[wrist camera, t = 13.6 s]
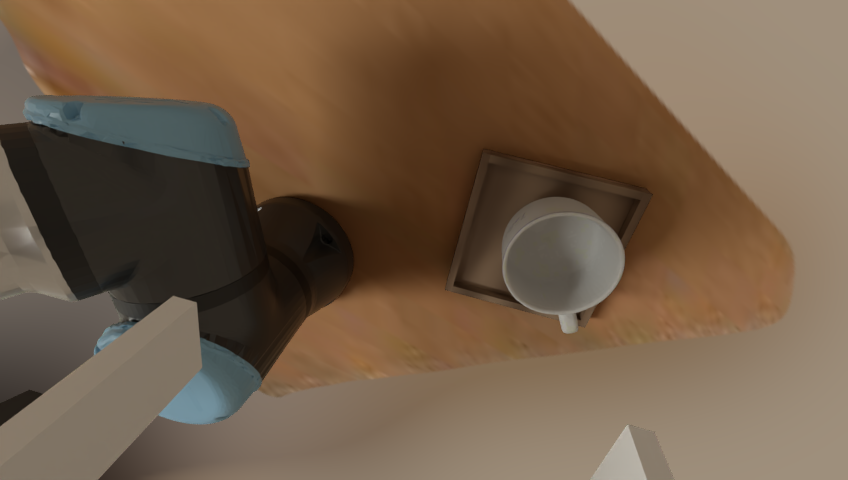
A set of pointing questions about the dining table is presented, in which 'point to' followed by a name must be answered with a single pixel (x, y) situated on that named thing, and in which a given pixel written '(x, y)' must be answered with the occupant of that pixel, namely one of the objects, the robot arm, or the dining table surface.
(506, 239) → the teacup
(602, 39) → the dining table surface
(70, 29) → the dining table surface
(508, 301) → the shallow tray
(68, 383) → the robot arm
